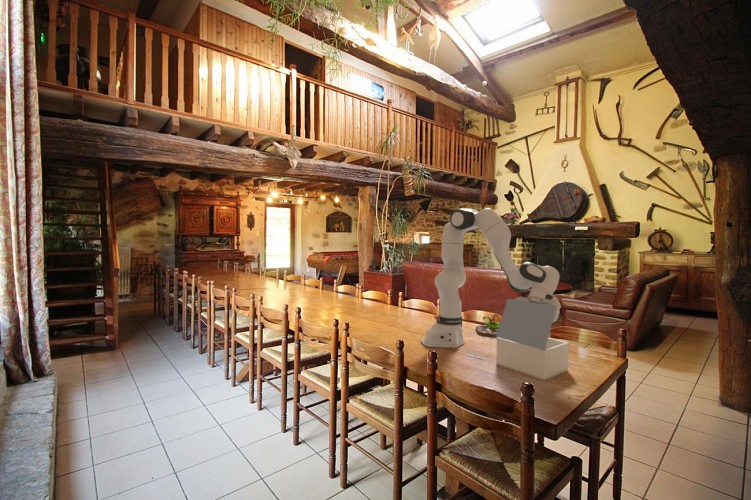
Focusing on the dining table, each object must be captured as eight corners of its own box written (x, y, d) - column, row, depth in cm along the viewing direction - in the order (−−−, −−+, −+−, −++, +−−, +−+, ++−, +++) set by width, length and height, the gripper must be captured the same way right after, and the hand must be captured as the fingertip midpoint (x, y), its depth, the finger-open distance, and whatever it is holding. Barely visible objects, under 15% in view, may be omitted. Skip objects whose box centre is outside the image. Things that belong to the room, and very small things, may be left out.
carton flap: (508, 298, 161) (508, 298, 161) (556, 307, 143) (556, 306, 143) (496, 336, 157) (496, 336, 157) (544, 350, 139) (544, 349, 139)
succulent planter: (514, 339, 196) (514, 318, 196) (477, 336, 201) (477, 317, 200) (508, 329, 216) (508, 311, 215) (475, 327, 220) (475, 309, 220)
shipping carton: (520, 355, 168) (521, 330, 168) (568, 370, 150) (568, 342, 150) (496, 364, 158) (496, 337, 157) (544, 381, 140) (544, 351, 139)
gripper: (514, 291, 162) (501, 316, 157) (559, 297, 146) (547, 325, 141) (519, 300, 165) (507, 324, 160) (565, 306, 149) (553, 334, 143)
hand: (526, 325), depth 150 cm, fingers closed, pressing on carton flap
